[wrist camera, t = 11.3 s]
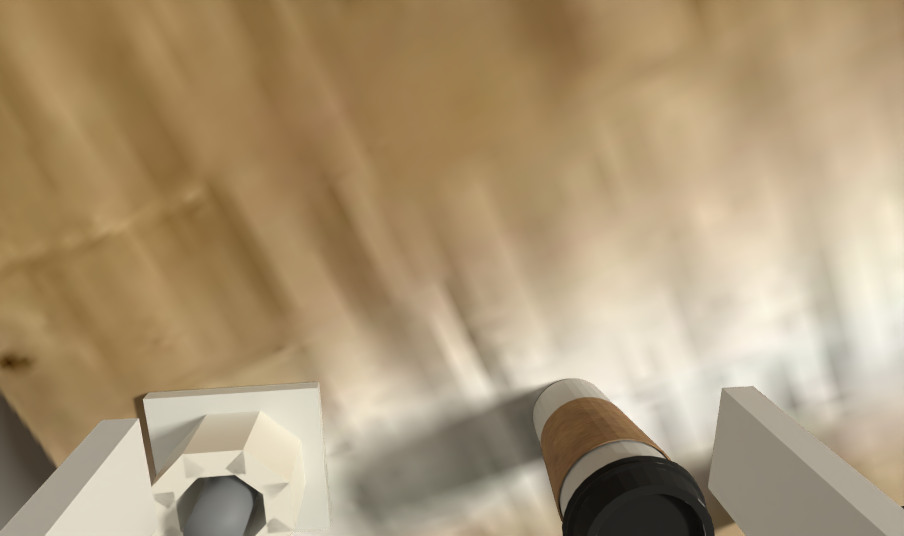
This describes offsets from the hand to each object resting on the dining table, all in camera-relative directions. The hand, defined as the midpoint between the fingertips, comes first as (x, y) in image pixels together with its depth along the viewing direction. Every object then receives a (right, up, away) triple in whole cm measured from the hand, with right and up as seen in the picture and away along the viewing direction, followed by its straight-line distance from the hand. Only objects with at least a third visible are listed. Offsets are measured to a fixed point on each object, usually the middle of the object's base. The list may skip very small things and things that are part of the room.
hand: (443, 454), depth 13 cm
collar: (-15, -10, +29) cm, 35 cm away
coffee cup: (+9, -7, +32) cm, 34 cm away
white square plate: (-15, -10, +30) cm, 35 cm away
